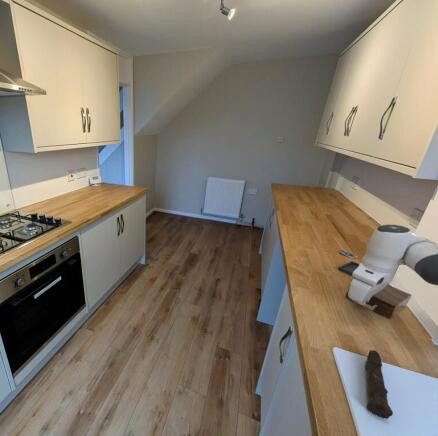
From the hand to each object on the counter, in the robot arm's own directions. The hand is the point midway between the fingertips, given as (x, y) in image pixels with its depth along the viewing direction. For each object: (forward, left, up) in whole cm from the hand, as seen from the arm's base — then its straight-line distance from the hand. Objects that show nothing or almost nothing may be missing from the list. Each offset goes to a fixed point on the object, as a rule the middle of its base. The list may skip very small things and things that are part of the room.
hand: (362, 303), depth 85 cm
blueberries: (+24, -47, -4) cm, 53 cm away
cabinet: (0, -13, -4) cm, 13 cm away
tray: (+11, -31, -4) cm, 33 cm away
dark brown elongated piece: (-14, +29, -4) cm, 33 cm away
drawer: (0, -9, -3) cm, 9 cm away
